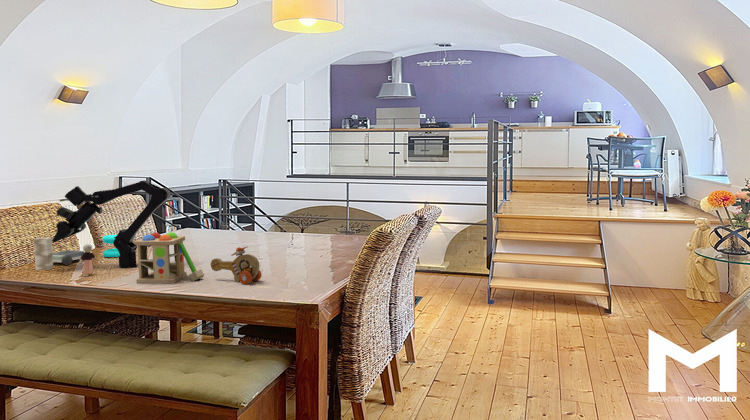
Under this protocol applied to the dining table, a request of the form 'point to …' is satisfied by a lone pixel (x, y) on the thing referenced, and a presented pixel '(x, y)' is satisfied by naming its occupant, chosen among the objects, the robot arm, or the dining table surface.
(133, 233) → the robot arm
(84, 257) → the grandmother figurine
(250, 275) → the toy helicopter
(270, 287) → the dining table surface
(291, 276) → the dining table surface
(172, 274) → the pounding bench toy
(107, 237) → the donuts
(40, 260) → the beige stone block
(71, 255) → the chassis
